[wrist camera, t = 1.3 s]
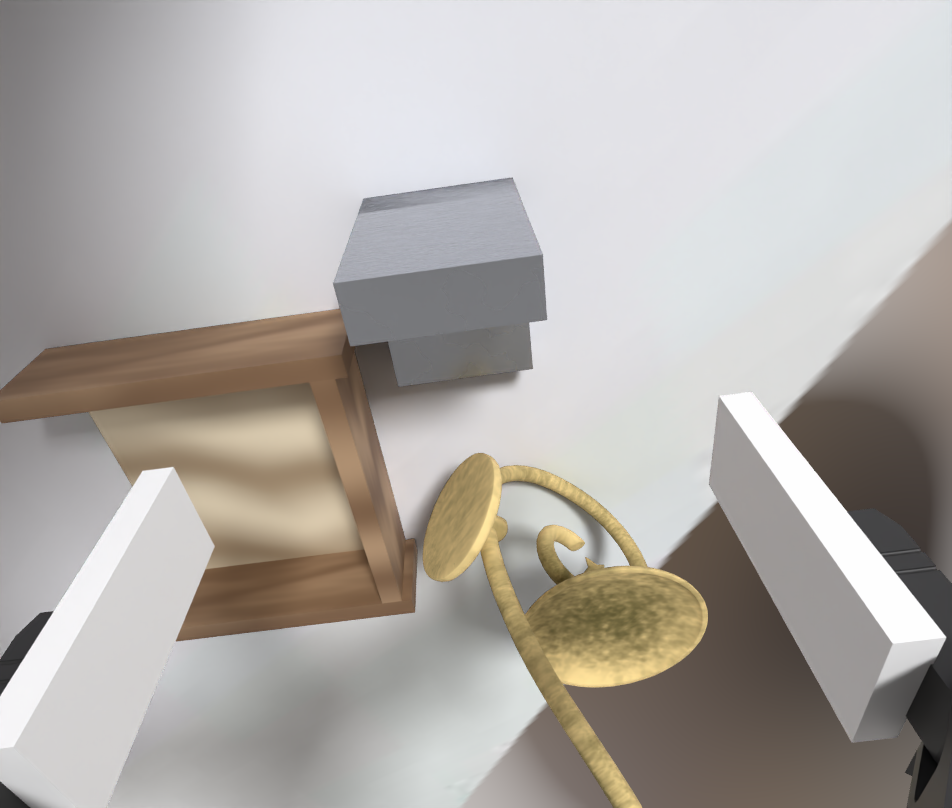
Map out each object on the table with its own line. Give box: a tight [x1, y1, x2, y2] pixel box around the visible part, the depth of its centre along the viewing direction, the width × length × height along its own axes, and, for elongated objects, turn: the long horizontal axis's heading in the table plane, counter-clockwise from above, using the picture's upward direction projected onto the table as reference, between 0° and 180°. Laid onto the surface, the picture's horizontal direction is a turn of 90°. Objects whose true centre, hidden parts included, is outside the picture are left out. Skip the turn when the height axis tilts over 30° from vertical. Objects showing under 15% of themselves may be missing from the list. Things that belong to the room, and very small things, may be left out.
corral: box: [0, 309, 417, 641], centre depth 35 cm, size 18×16×5 cm
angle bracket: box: [333, 178, 547, 387], centre depth 27 cm, size 9×7×10 cm
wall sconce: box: [423, 453, 708, 808], centre depth 28 cm, size 14×10×25 cm
